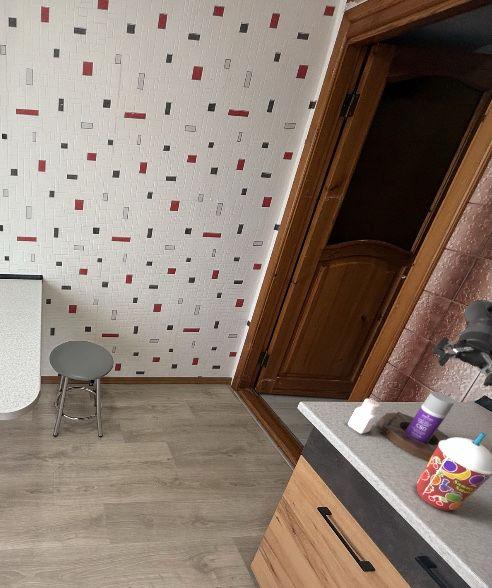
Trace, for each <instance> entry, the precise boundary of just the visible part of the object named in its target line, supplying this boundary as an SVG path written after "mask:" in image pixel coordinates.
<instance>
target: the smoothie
mask: <svg viewBox="0 0 492 588" xmlns="http://www.w3.org/2000/svg"><path fill="white" fill-rule="evenodd" d="M486 436H487V433H485V432H480V434H479V435H478V436H477V438H476V439H475V440H474V439H471V438H468V437H462V436H456V437H449V439H446V440H441V441H440V442H439V445H438V446H437V448H436V450H435V452H434V453H433V455H432V457H431V459H430V460H429V461H428V462H427V464H426V466H425V468H424V469H423V471H422V473H421V475H420V476H419V478H418V480H417V481H416V491H417V493H418V495H419V496H420V497H421V499H422V500H424V501H425V502H426V503H428V504H429V505H431V506H432V507H433V508H434V507H435V508H436V509H438V510H441V511H445V512H446V511H447V512H449V511H453V510H454V511H455V510H457V509H458V508H459V507H460V506H461V505H462V504H464V503H465V501H467V500H468V499H469V498H470V497H471V496H472V495H473V494H474V493H475V492H477V490H478V489H479V488H480V487H482V485H483V484H484V483H486V482H487V481H488V480H489V479H490V478H491V477H492V452H491V451H490V450H489V449H488V448H487V447H486V446H484V445H483V444H481V443H482V441H483V440H484V438H485V437H486Z"/></svg>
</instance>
